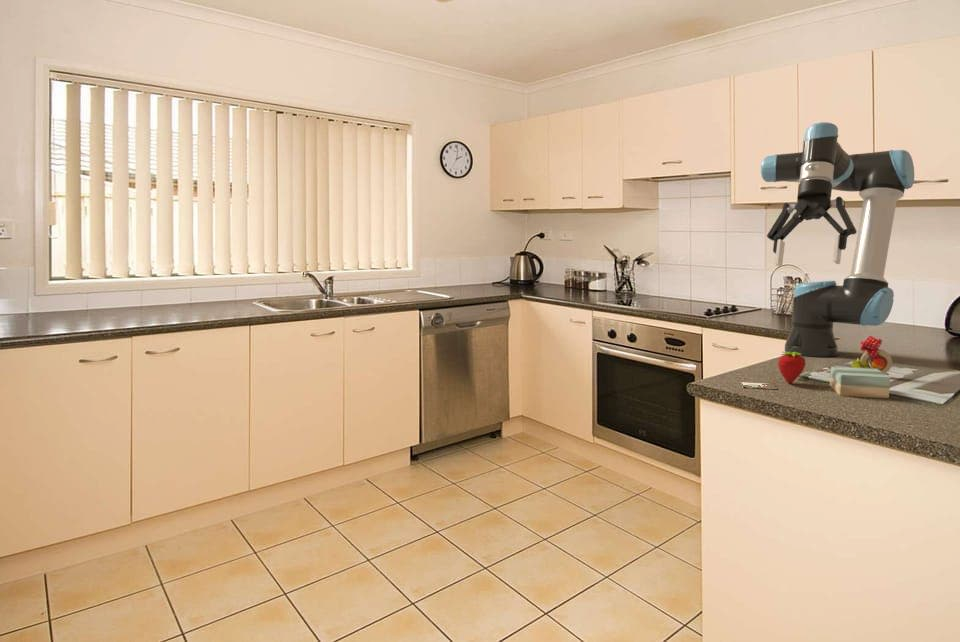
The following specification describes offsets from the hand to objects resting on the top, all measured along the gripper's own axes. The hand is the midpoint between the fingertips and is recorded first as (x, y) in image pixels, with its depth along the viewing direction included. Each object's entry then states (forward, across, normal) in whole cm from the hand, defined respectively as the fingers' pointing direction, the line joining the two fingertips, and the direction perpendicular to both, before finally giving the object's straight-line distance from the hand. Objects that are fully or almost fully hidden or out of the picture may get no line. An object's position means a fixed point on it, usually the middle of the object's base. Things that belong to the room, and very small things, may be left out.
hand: (806, 264), depth 152 cm
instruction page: (+32, -8, 0) cm, 33 cm away
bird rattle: (+23, +7, +32) cm, 40 cm away
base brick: (+29, +11, +12) cm, 33 cm away
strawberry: (+29, -4, +9) cm, 31 cm away
